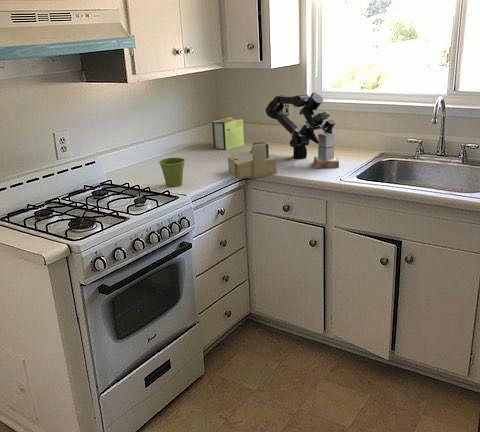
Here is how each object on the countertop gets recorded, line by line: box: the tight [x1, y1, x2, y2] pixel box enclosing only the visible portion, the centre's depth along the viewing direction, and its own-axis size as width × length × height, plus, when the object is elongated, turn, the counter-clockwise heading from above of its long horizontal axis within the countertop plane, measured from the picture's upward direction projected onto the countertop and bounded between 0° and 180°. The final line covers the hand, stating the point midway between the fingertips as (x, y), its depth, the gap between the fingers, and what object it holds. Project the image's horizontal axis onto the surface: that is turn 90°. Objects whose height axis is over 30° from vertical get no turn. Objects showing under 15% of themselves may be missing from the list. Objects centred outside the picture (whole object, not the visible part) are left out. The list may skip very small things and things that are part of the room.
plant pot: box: [158, 157, 186, 188], centre depth 242 cm, size 12×12×11 cm
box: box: [252, 141, 270, 158], centre depth 270 cm, size 8×6×11 cm
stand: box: [313, 155, 340, 169], centre depth 264 cm, size 11×11×3 cm
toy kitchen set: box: [227, 143, 277, 180], centre depth 255 cm, size 18×17×15 cm
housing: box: [317, 132, 335, 160], centre depth 261 cm, size 6×5×12 cm
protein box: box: [211, 117, 245, 151], centre depth 310 cm, size 10×15×16 cm
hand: (325, 141), depth 261 cm, fingers open, 9 cm apart
